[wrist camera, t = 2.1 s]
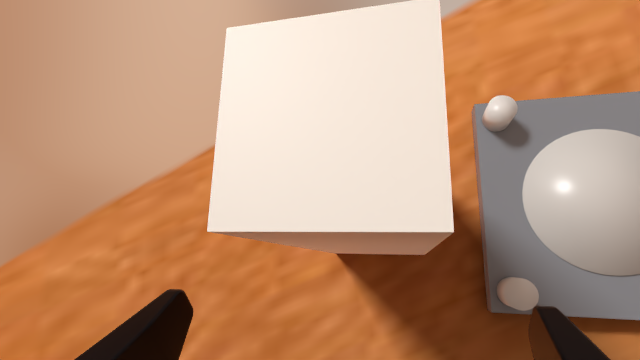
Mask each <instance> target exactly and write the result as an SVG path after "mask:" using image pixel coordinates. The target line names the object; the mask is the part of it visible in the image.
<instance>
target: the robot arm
mask: <svg viewBox="0 0 640 360" xmlns="http://www.w3.org/2000/svg"><path fill="white" fill-rule="evenodd" d="M192 317H193V308H192V305H191V303H190V301H189V299H188V297H187V296H186V294H185V292H184V291H183V290H180V289H169V290H167V291H165V292H164V293H163V294H161V295H160V296H159V297H157V298H156V299H155V300H153V301H152V302H151V303H149V304H148V305H147V306H145V307H144V308H143V309H141V310H140V311H139V312H137V313H136V314H135V315H133V316H132V317H131V318H129V319H128V320H127V321H125V322H124V323H123V324H121V325H120V326H119V327H117V328H116V329H115V330H113V331H112V332H111V333H109V334H108V335H107V336H105V337H104V338H103V339H101V340H100V341H99V342H97V343H96V344H95V345H93V346H92V347H91V348H89V349H88V350H87V351H85V352H84V353H83V354H81V355H80V356H79V357H77V358H76V359H75V360H179V357H180V354H181V351H182V348H183V345H184V342H185V339H186V335H187V332H188V329H189V326H190V323H191V320H192ZM528 332H529V340H530V344H531V348H532V353H533V357H534V360H610V359H609V358H608V357H607V356H606V355H605V354H604V353H603V352H602V351H601V350H600V349H599V348H598V347H597V346H596V345H595V344H594V343H593V342H592V341H591V340H590V339H589V338H588V337H587V336H586V335H585V334H584V333H583V332H582V331H580V330H579V329H578V328H577V327H576V326H575V325H574V324H573V323H572V322H571V321H570V320H569V319H568V318H567V317H566V316H565V315H564V314H563V313H562V312H561V311H560V310H559V309H558V308H556V307H554V306H548V305H536V306H534V308H533V310H532V315H531V319H530V324H529V329H528Z"/></svg>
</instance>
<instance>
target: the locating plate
mask: <svg viewBox="0 0 640 360" xmlns="http://www.w3.org/2000/svg"><path fill="white" fill-rule="evenodd" d="M472 123H473V135H474V148H475V160H476V173H477V185H478V198H479V210H480V223H481V235H482V248H483V260H484V273H485V285H486V298H487V310H488V311H490V312H493V313H512V314H532V310H533V308H534V306H536V305H548V306H554V307H556V308H558V309H559V310H560V311H561V312H562V313H563V314H564V315H565V316H570V317H589V318H608V319H628V320H640V91H639V92H627V93H614V94H601V95H588V96H575V97H562V98H550V99H537V100H524V101H514V99H512V98H511V97H508V96H504V95H501V96H496V97H494V98H493V99H491V100H490V102H489V103H485V104H474V107H473V109H472Z"/></svg>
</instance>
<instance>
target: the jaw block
mask: <svg viewBox="0 0 640 360" xmlns="http://www.w3.org/2000/svg"><path fill="white" fill-rule="evenodd" d="M207 232H213V233H218V234H224V235H230V236H236V237H242V238H248V239H253V240H259V241H265V242H271V243H277V244H283V245H289V246H294V247H300V248H306V249H312V250H318V251H324V252H330V253H335V254H390V255H425V254H426V253H428V252H429V251H430V250H432V249H433V248H434V247H436V246H437V245H438V244H439V243H441V242H442V241H443V240H445V239H446V238H447V237H448V236H450V235H451V234H452V233H454V223H453V207H452V191H451V175H450V159H449V144H448V128H447V112H446V96H445V80H444V64H443V48H442V32H441V16H440V1H439V0H413V1H407V2H401V3H393V4H386V5H380V6H373V7H366V8H359V9H352V10H346V11H339V12H333V13H326V14H319V15H312V16H305V17H299V18H292V19H285V20H279V21H271V22H265V23H258V24H251V25H244V26H238V27H231V28H227V32H226V42H225V53H224V62H223V73H222V83H221V93H220V104H219V115H218V124H217V135H216V145H215V155H214V166H213V176H212V186H211V197H210V207H209V217H208V228H207Z"/></svg>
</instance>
